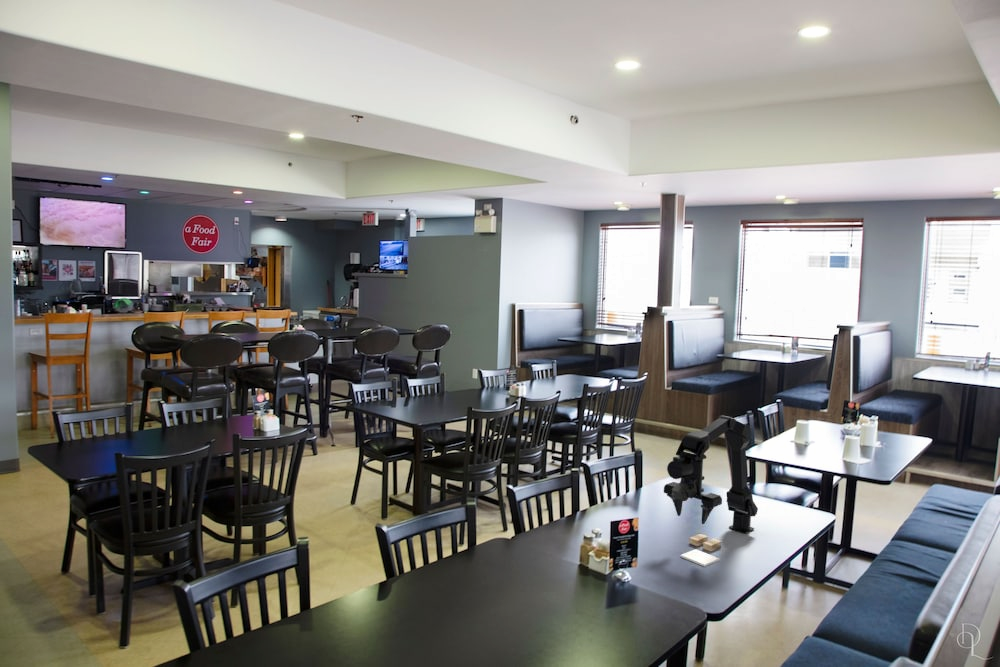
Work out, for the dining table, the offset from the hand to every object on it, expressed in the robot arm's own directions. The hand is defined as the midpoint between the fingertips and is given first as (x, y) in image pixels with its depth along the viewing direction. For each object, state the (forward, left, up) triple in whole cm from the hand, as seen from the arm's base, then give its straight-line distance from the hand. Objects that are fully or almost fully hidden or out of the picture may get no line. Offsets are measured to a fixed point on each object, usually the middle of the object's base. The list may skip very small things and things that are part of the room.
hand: (690, 519), depth 225 cm
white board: (+3, +2, -10) cm, 11 cm away
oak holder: (-7, +1, -10) cm, 13 cm away
